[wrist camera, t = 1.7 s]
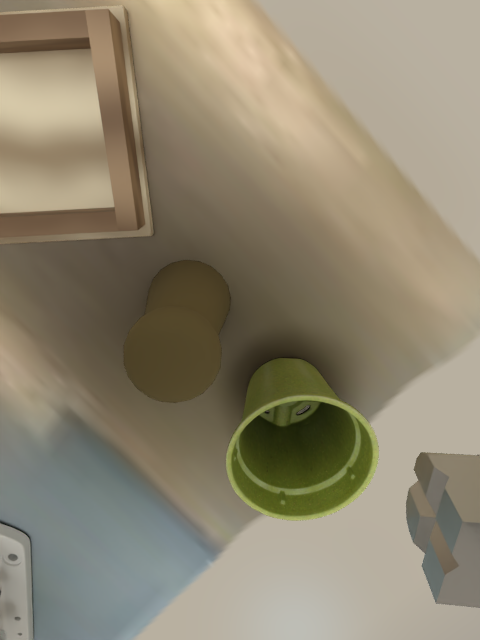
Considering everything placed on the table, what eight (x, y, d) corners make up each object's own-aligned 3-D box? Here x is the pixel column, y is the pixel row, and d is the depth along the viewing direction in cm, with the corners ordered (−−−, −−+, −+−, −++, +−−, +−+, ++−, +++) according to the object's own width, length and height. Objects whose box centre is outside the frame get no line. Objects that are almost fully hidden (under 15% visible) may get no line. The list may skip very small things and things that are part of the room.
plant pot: (368, 392, 35) (409, 464, 27) (280, 459, 37) (293, 544, 29) (293, 312, 32) (313, 365, 24) (202, 389, 35) (193, 460, 27)
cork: (130, 295, 32) (81, 362, 22) (193, 242, 31) (172, 287, 20) (186, 353, 34) (165, 441, 23) (247, 305, 32) (254, 376, 22)
